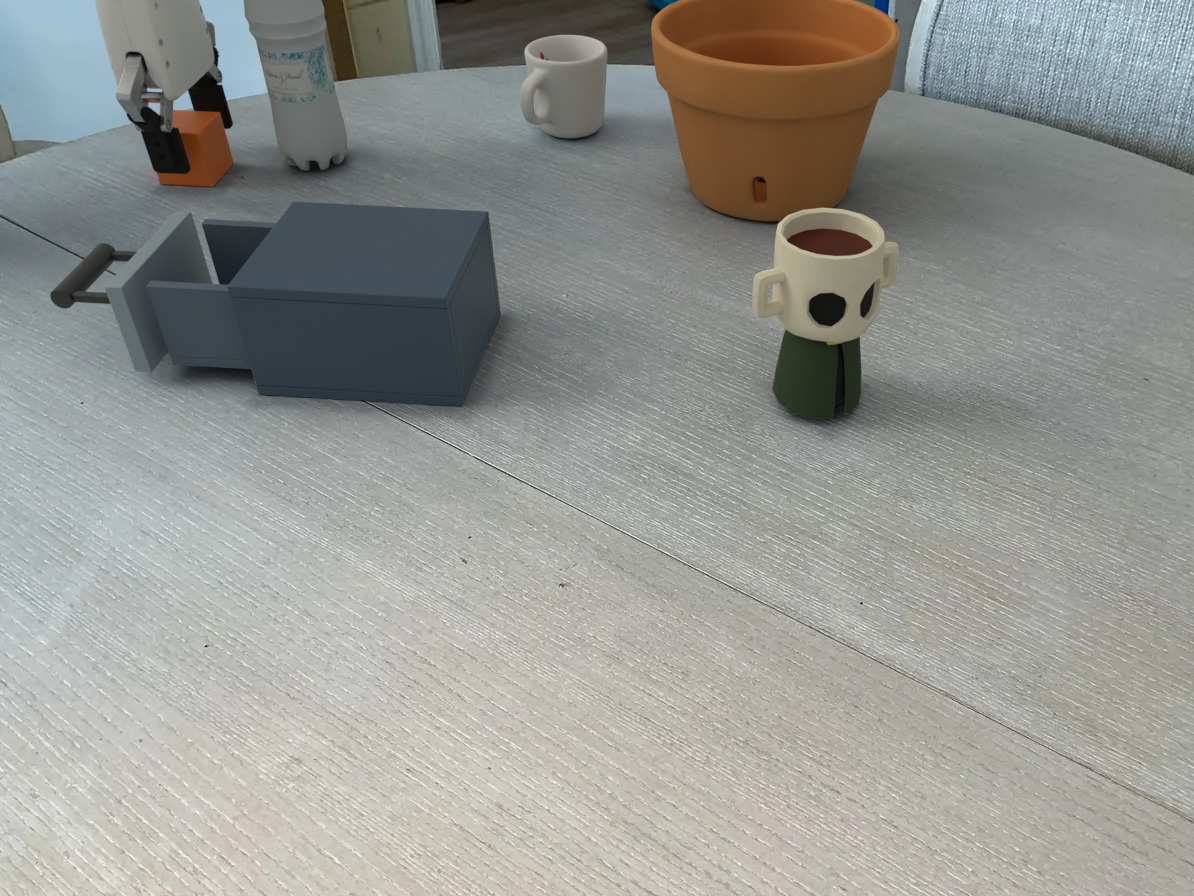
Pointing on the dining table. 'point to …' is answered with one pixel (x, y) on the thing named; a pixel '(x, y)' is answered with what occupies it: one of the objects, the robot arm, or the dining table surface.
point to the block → (201, 148)
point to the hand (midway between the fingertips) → (195, 148)
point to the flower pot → (772, 97)
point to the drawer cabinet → (369, 303)
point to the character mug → (823, 304)
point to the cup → (565, 85)
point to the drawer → (173, 292)
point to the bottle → (299, 80)
